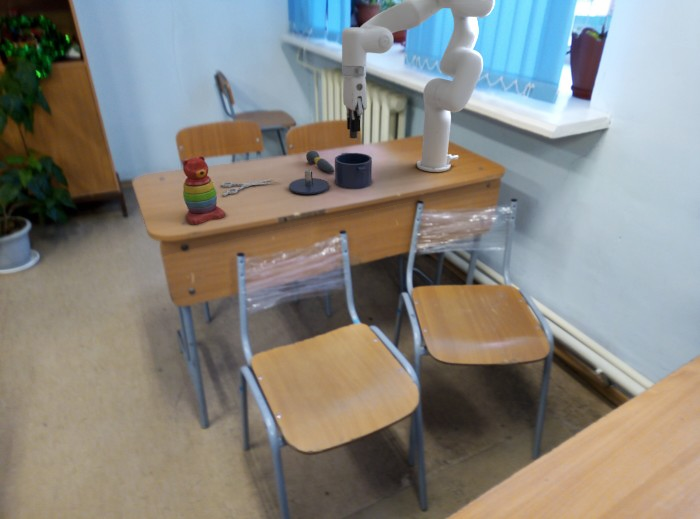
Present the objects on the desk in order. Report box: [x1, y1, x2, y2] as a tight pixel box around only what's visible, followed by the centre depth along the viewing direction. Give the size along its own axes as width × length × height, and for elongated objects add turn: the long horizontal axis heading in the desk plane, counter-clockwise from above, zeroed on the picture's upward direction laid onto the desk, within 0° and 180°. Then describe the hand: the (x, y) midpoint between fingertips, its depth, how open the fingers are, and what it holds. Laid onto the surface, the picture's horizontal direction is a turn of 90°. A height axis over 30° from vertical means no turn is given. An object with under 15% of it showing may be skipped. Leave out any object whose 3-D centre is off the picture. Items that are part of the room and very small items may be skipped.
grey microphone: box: [305, 150, 335, 174], centre depth 180 cm, size 20×5×5 cm, turn 38°
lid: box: [288, 169, 330, 195], centre depth 162 cm, size 14×14×6 cm
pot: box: [334, 152, 373, 190], centre depth 166 cm, size 13×18×8 cm
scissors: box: [221, 178, 277, 197], centre depth 165 cm, size 11×1×20 cm
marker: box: [349, 108, 359, 139], centre depth 157 cm, size 3×3×12 cm
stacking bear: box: [182, 155, 226, 225], centre depth 140 cm, size 11×10×18 cm
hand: (353, 129), depth 159 cm, fingers closed on marker, 2 cm apart
